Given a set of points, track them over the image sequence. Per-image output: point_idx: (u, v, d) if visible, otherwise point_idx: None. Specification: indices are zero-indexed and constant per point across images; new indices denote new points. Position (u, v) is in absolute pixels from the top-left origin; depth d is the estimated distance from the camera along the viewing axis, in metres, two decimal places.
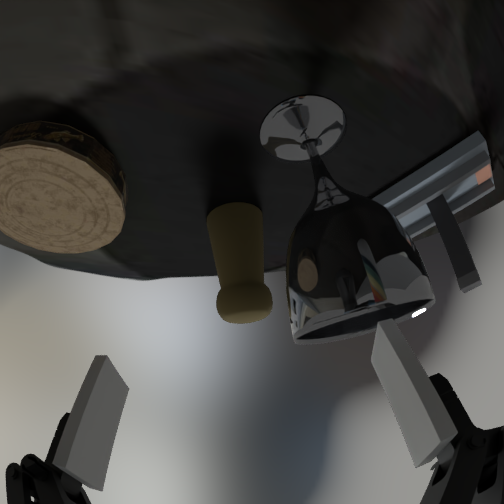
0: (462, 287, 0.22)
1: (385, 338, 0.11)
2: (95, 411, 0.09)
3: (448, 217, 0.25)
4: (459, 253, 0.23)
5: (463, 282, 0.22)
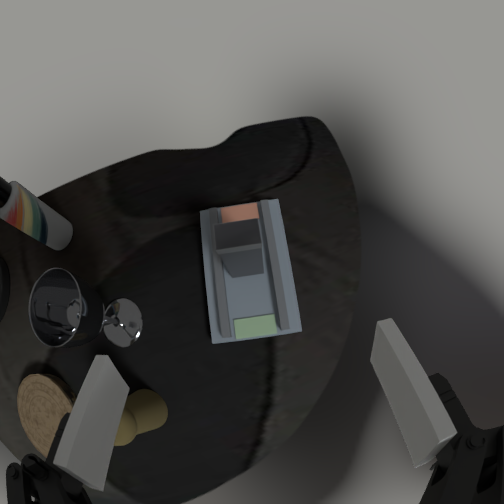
0: None
1: (384, 338, 0.11)
2: (96, 411, 0.09)
3: None
4: None
5: None
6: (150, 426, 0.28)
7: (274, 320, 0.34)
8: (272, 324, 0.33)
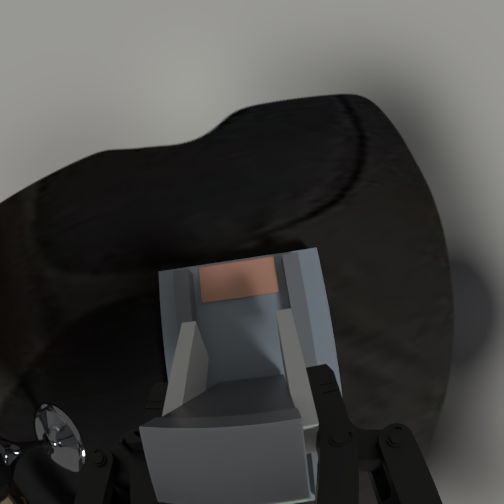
0: (156, 491, 0.05)
1: (278, 325, 0.13)
2: (193, 375, 0.11)
3: None
4: None
5: None
6: None
7: None
8: None
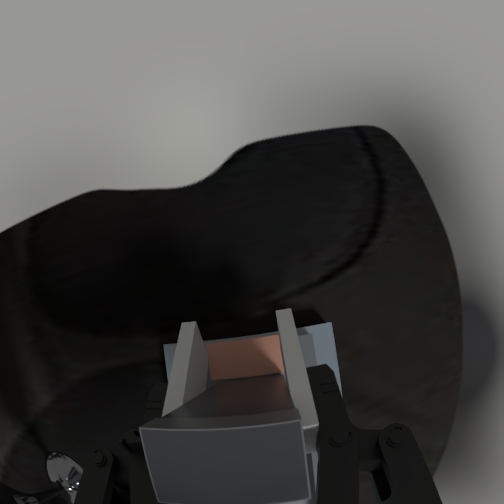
0: (156, 492, 0.05)
1: (278, 325, 0.13)
2: (193, 375, 0.11)
3: None
4: None
5: None
6: None
7: None
8: None
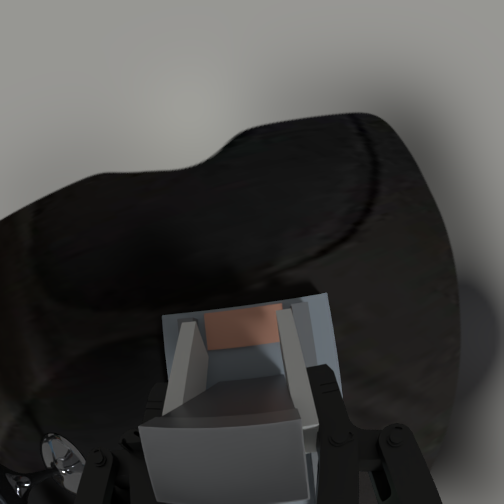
0: (155, 491, 0.05)
1: (278, 325, 0.13)
2: (193, 375, 0.11)
3: None
4: None
5: None
6: None
7: None
8: None
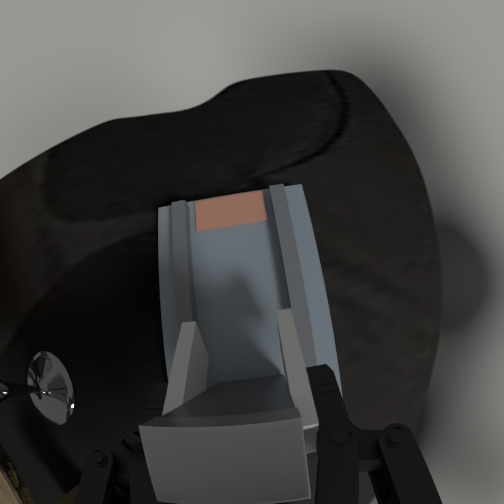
0: (155, 490, 0.05)
1: (278, 325, 0.13)
2: (193, 375, 0.11)
3: None
4: None
5: None
6: None
7: None
8: None
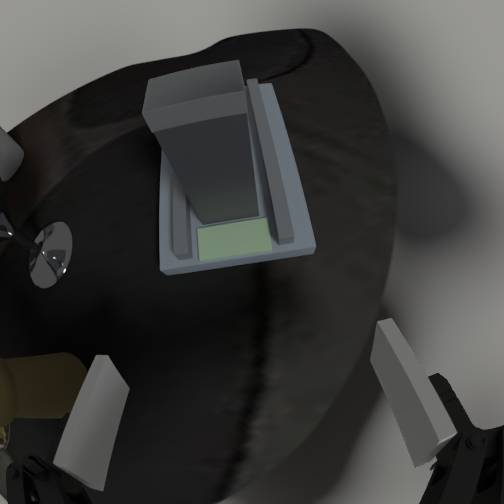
0: None
1: (384, 338, 0.11)
2: (96, 411, 0.09)
3: None
4: None
5: None
6: (55, 409, 0.14)
7: (267, 229, 0.20)
8: (263, 234, 0.19)
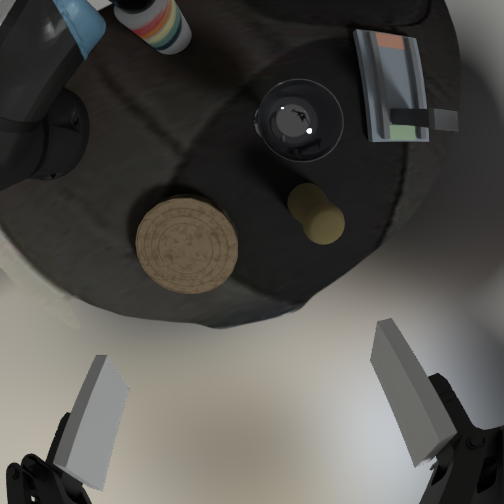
0: (434, 126, 0.25)
1: (384, 338, 0.11)
2: (96, 411, 0.09)
3: (402, 112, 0.31)
4: (418, 117, 0.28)
5: (432, 124, 0.25)
6: None
7: (414, 130, 0.35)
8: (413, 133, 0.35)
